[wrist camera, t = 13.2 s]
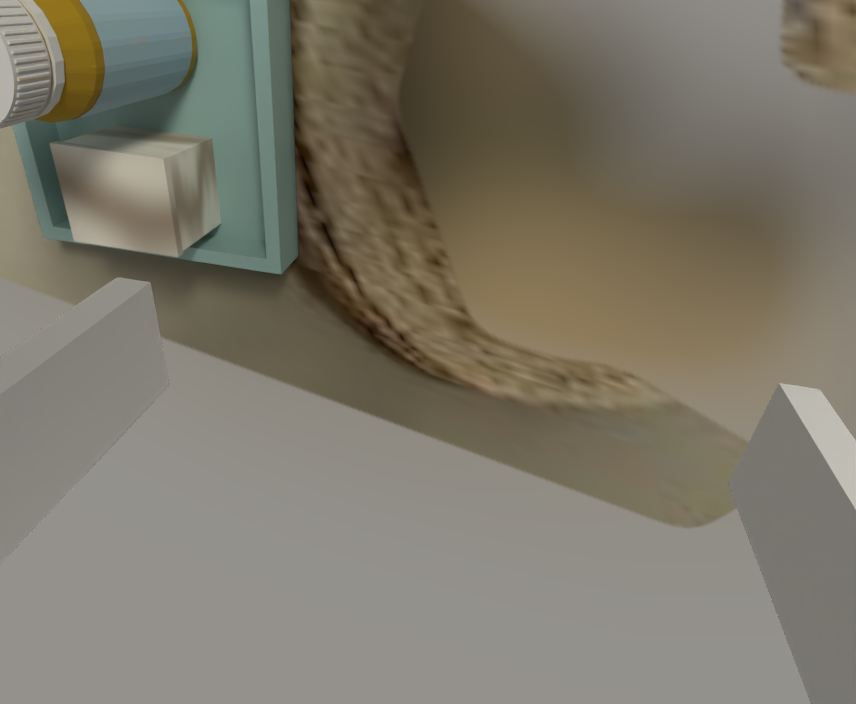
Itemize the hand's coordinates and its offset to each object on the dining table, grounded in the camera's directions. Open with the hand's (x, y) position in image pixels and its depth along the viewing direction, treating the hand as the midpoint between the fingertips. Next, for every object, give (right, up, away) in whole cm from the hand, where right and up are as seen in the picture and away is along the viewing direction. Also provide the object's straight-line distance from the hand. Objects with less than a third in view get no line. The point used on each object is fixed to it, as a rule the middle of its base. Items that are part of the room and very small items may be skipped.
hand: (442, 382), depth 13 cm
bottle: (-18, +21, +24) cm, 36 cm away
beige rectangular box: (-19, +13, +29) cm, 37 cm away
